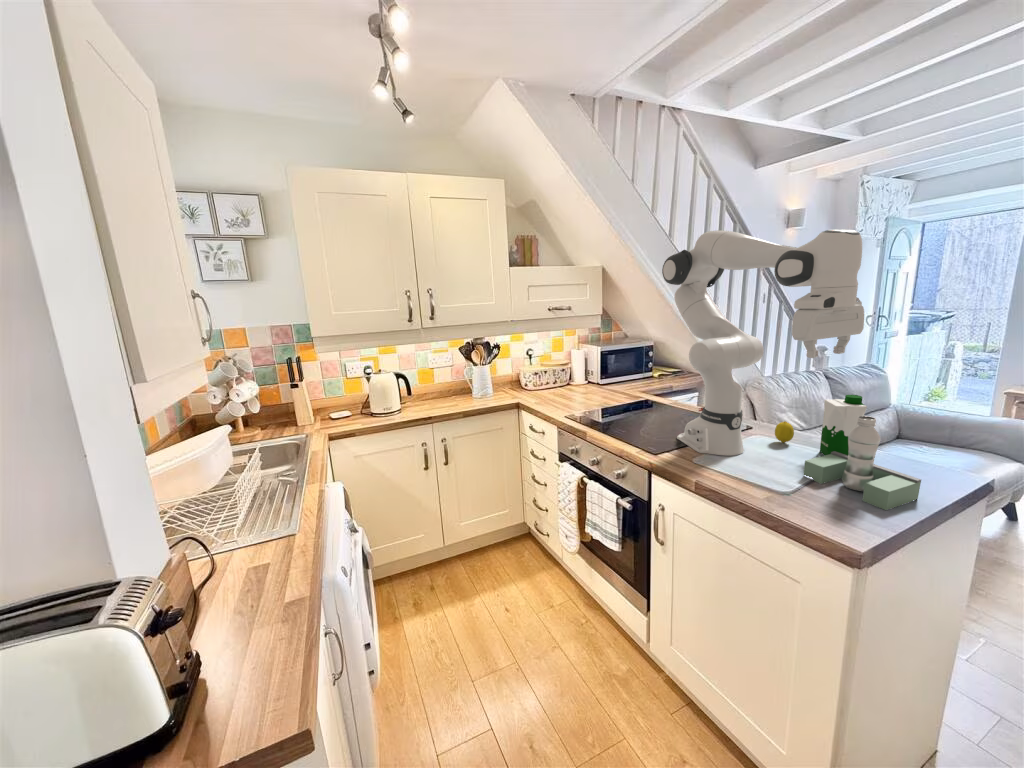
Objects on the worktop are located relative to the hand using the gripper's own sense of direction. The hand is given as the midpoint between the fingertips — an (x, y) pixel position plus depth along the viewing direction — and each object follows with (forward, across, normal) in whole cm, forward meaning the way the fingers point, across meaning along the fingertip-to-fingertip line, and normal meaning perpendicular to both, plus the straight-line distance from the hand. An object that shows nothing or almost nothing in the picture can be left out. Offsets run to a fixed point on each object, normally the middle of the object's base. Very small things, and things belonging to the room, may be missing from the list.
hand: (825, 355), depth 98 cm
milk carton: (+37, -28, -11) cm, 48 cm away
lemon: (+37, -24, -26) cm, 51 cm away
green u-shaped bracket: (+37, -12, +4) cm, 39 cm away
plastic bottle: (+37, -11, +4) cm, 39 cm away
